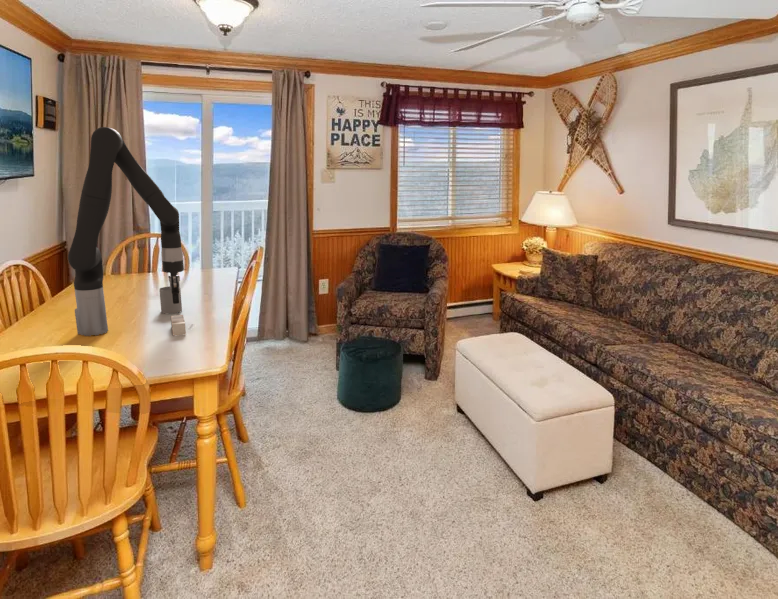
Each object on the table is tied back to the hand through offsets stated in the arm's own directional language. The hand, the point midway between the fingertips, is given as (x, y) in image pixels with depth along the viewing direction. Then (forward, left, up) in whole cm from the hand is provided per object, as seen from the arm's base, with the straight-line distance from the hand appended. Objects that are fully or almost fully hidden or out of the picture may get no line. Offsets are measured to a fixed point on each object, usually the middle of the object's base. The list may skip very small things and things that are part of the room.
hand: (176, 303), depth 208 cm
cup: (-14, +21, -10) cm, 27 cm away
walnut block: (0, +1, -7) cm, 7 cm away
